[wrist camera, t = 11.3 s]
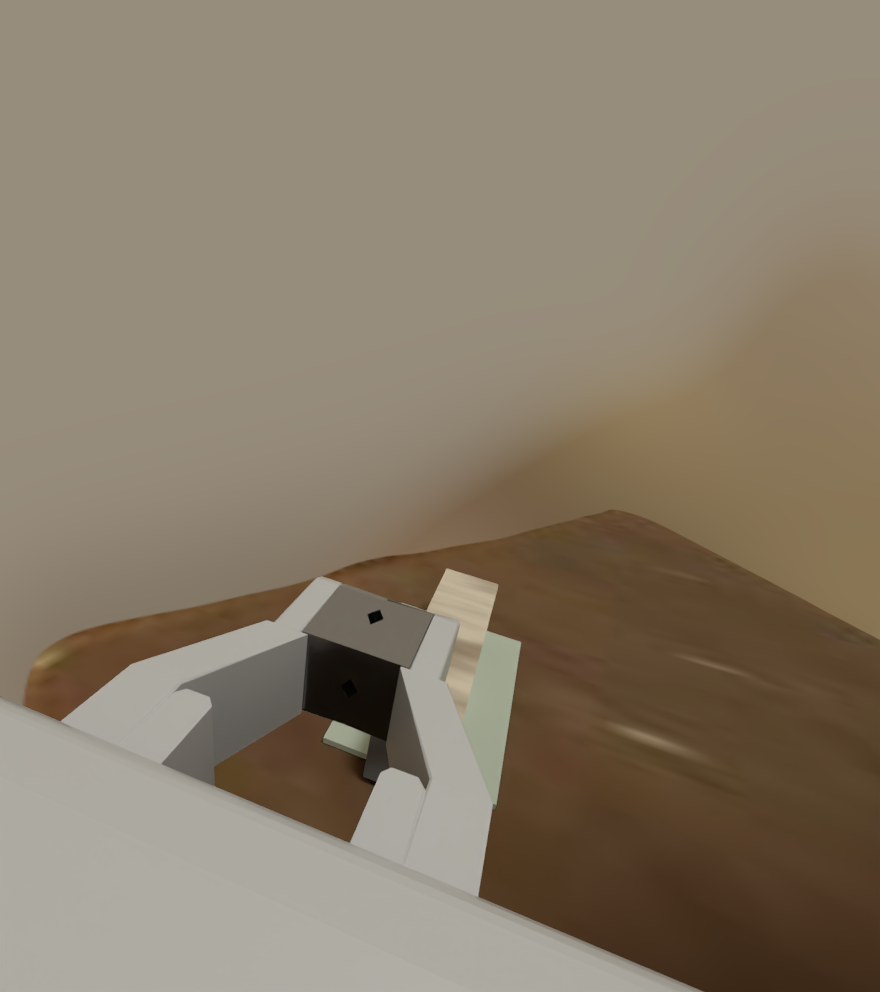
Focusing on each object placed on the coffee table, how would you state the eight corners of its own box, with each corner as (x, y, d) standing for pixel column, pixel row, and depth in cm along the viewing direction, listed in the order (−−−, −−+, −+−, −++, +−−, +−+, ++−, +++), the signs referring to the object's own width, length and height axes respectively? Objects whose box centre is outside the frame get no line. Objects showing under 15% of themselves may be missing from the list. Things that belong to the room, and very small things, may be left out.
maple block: (454, 752, 27) (498, 584, 43) (373, 721, 27) (446, 568, 44) (437, 806, 29) (486, 627, 45) (362, 776, 29) (436, 610, 46)
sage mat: (494, 809, 30) (496, 805, 29) (322, 742, 32) (323, 737, 31) (519, 646, 44) (521, 642, 44) (400, 606, 46) (401, 602, 46)
